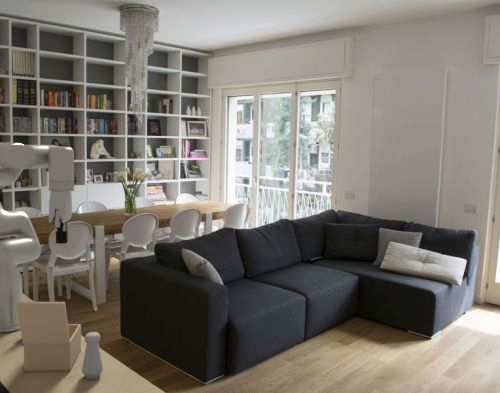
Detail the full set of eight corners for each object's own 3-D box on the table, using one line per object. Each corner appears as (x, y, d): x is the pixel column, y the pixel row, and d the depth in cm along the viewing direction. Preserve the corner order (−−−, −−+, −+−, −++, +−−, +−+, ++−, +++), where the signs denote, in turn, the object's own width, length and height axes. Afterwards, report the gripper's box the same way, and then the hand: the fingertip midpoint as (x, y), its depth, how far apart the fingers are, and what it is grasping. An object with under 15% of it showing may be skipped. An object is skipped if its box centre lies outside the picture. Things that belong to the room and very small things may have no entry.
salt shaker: (96, 382, 139) (96, 339, 137) (78, 379, 140) (77, 336, 138) (106, 372, 144) (106, 331, 143) (88, 370, 146) (88, 328, 144)
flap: (16, 301, 135) (15, 303, 134) (65, 301, 136) (64, 303, 136) (23, 342, 142) (23, 343, 141) (70, 342, 143) (69, 343, 143)
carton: (39, 351, 157) (38, 324, 156) (81, 350, 158) (81, 324, 157) (24, 372, 143) (23, 343, 142) (70, 371, 144) (70, 342, 143)
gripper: (55, 183, 160) (56, 237, 163) (41, 188, 146) (42, 248, 148) (79, 183, 161) (79, 238, 164) (67, 189, 147) (67, 248, 149)
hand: (61, 242), depth 156 cm, fingers closed
